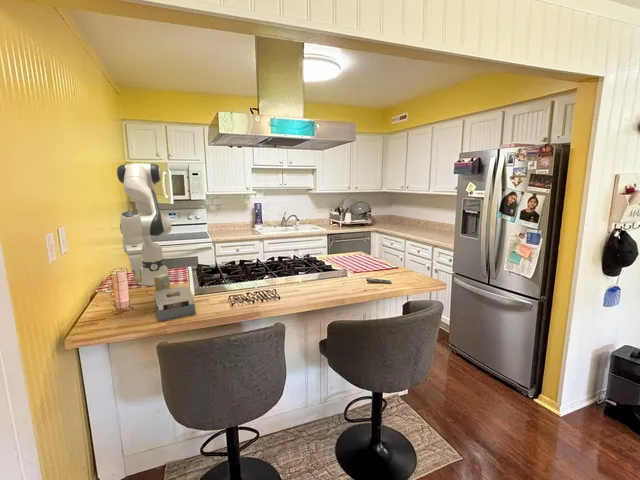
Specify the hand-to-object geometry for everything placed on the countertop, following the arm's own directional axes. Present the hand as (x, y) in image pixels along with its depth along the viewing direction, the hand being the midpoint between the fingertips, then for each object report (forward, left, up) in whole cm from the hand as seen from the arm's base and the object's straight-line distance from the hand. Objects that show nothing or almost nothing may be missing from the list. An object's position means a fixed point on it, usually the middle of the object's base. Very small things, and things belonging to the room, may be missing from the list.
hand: (137, 275), depth 161 cm
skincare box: (-16, +11, -19) cm, 27 cm away
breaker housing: (+6, +14, -19) cm, 24 cm away
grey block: (0, 0, -3) cm, 3 cm away
